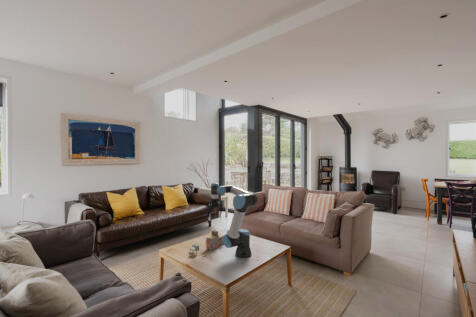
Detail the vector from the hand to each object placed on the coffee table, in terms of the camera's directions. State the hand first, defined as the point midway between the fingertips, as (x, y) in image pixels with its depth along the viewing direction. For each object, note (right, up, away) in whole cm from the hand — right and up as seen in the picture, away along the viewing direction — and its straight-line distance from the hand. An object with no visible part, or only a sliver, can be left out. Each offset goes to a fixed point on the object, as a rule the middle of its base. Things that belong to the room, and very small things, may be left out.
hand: (214, 219), depth 236 cm
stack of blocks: (+1, -29, +2) cm, 29 cm away
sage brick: (-20, -29, -12) cm, 37 cm away
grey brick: (-18, -29, -5) cm, 35 cm away
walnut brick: (0, -17, +1) cm, 17 cm away
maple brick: (-18, -29, -20) cm, 40 cm away
